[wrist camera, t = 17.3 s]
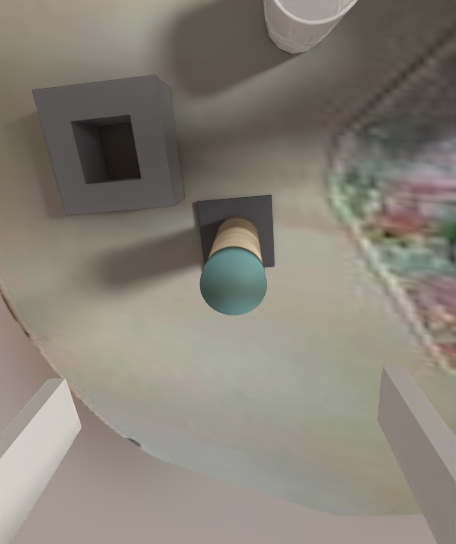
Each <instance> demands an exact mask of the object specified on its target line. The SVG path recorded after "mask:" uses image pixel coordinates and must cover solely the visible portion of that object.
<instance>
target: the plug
mask: <svg viewBox="0 0 456 544" xmlns="http://www.w3.org/2000/svg"><path fill="white" fill-rule="evenodd" d="M266 288H267V281H266V275H265V269H264V266H263V264H262V257H261V251H260V245H259V238H258V232H257V228H256V226H255V224H254V223H253V222H252V221H251V220H250V219H249V218H247V217H245V216H240V215H235V216H231V217H228V218H227V219H225V220H224V221H223V222H222V223H221V225H220V227H219V229H218V232H217V235H216V238H215V241H214V244H213V247H212V249H211V252H210V255H209V258H208V260H207V262H206V263H205V266H204V269H203V271H202V274H201V278H200V290H201V294H202V296H203V298H204V300H205V301H206V303H207V304H208V305H209V306H210V307H212V308H213V309H214V310H216V311H218V312H220V313H223V314H227V315H241V314H245V313H248V312H250V311H252V310H253V309H255V308H256V307H257V306H258V305H259V304H260V303H261V301H262V300H263V298H264V296H265V293H266Z"/></svg>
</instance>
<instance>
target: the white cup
mask: <svg viewBox="0 0 456 544" xmlns="http://www.w3.org/2000/svg"><path fill="white" fill-rule="evenodd" d="M357 1H358V0H264V13H265V17H264V19H265V23H266V27H267V31H268V35H269V37H270V38H271V39H272V41H273V42H274V43H275V44H276V46H277V47H278V48H279V49H282V50H284V51H287V52H289V53H291V54H293V53H301V52H307V51H308V50H310V49H311V48H313V47H314V46H316V45H317V44H318V43H320V42H321V41H322V39H323V38H325V37H326V36H327V35H328V34H329V33H330V32H331V30H332V29H333V28H334V27H335V26H336V25H337V24H338V23H339V22H340V21H341V19H342V18H343V17H344V16H345V15H346V13H347V12H348V11H349V10H350V9H351V8H352V6H353V5H354V4H355V3H356V2H357Z"/></svg>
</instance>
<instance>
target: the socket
mask: <svg viewBox="0 0 456 544" xmlns="http://www.w3.org/2000/svg"><path fill="white" fill-rule="evenodd" d="M32 92H33V95H34V99H35V103H36V106H37V110H38V114H39V117H40V121H41V125H42V128H43V132H44V136H45V139H46V143H47V147H48V150H49V154H50V158H51V161H52V165H53V169H54V173H55V176H56V180H57V184H58V187H59V191H60V195H61V198H62V202H63V206H64V209H65V213H66V215H77V214H88V213H100V212H111V211H123V210H134V209H146V208H157V207H169V206H175V205H177V204H178V203H179V202H181V201H182V200H183V199H185V194H184V187H183V180H182V173H181V165H180V158H179V151H178V144H177V136H176V129H175V122H174V115H173V108H172V100H171V93H170V87H169V86H167V85H166V84H165V83H164V82H163V81H162V80H160V79H159V78H158V77H157V76H156V75H149V76H141V77H133V78H125V79H117V80H109V81H101V82H93V83H85V84H77V85H68V86H60V87H52V88H44V89H36V90H32ZM130 122H131V124H132V129H133V135H134V140H135V146H136V151H137V157H138V162H139V168H140V173H141V177H134V178H123V179H113V180H109V177H108V172H107V167H106V163H105V158H104V154H103V149H102V144H101V140H100V135H99V130H98V126H103V125H112V124H121V123H130Z"/></svg>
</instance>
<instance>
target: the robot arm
mask: <svg viewBox="0 0 456 544" xmlns="http://www.w3.org/2000/svg"><path fill="white" fill-rule="evenodd" d="M378 422H379V424H380V426H381V428H382V430H383V432H384V434H385V436H386V438H387V441H388V443H389V445H390V447H391V449H392V451H393V453H394V455H395V457H396V459H397V461H398V463H399V465H400V467H401V469H402V471H403V473H404V476H405V478H406V480H407V482H408V484H409V486H410V488H411V490H412V492H413V494H414V496H415V498H416V500H417V502H418V504H419V506H420V508H421V511H422V513H423V515H424V517H425V519H426V521H427V523H428V525H429V527H430V529H431V531H432V533H433V535H434V537H435V539H436V541H437V543H438V544H456V437H455V436H454V434H453V433H452V432H451V430H450V429H449V428H448V426H447V425H446V423H445V422H444V421H443V419H442V418H441V417H440V415H439V414H438V412H437V411H436V410H435V408H434V407H433V406H432V404H431V403H430V402H429V400H428V399H427V397H426V396H425V395H424V393H423V392H422V391H421V389H420V388H419V386H418V385H417V384H416V382H415V381H414V380H413V378H412V377H411V375H410V374H409V373H408V371H407V370H406V369H405V367H404V366H403V365H394V366H383V367H382V378H381V389H380V399H379V410H378ZM80 429H81V424H80V421H79V418H78V415H77V412H76V409H75V406H74V403H73V400H72V397H71V394H70V391H69V388H68V385H67V382H66V379H65V378H56V379H48V380H47V381H46V382H45V383H44V384H43V386H42V387H41V388H40V389H39V390H38V391H37V393H36V394H35V395H34V396H33V397H32V398H31V399H30V400H29V402H28V403H27V404H26V405H25V406H24V407H23V408H22V409H21V411H20V412H19V413H18V414H17V415H16V417H14V419H13V420H12V421H11V422H10V423H9V424H8V425H7V427H6V428H5V429H4V430H3V431H2V432H1V433H0V544H11V543H12V541H13V540H14V538H15V537H16V535H17V533H18V532H19V530H20V528H21V527H22V525H23V523H24V522H25V520H26V518H27V517H28V515H29V513H30V512H31V510H32V509H33V507H34V505H35V504H36V502H37V500H38V499H39V497H40V495H41V494H42V492H43V490H44V489H45V487H46V485H47V483H48V482H49V480H50V479H51V477H52V475H53V474H54V472H55V470H56V469H57V467H58V465H59V464H60V462H61V460H62V459H63V457H64V456H65V454H66V452H67V451H68V449H69V447H70V446H71V444H72V442H73V441H74V439H75V437H76V436H77V434H78V432H79V431H80Z"/></svg>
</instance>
